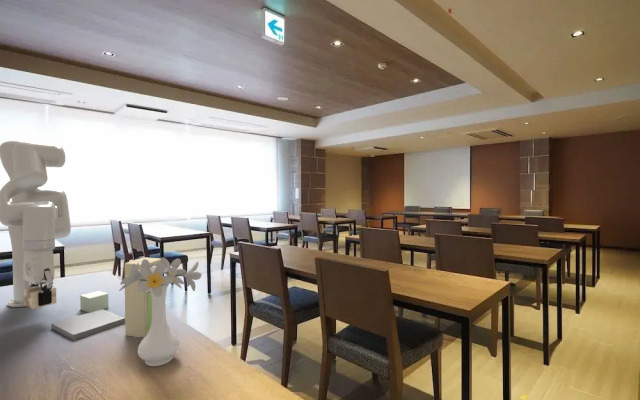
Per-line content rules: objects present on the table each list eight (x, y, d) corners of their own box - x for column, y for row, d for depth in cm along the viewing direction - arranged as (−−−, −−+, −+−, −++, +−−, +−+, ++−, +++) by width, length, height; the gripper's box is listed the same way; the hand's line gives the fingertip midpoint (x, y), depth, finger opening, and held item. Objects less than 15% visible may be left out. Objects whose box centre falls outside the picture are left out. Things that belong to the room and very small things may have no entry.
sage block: (80, 309, 115) (80, 295, 115) (99, 304, 120) (99, 290, 120) (89, 313, 112) (89, 298, 112) (108, 307, 117) (108, 293, 117)
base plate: (51, 328, 100) (51, 323, 100) (101, 313, 112) (101, 308, 112) (73, 340, 92) (73, 334, 92) (125, 322, 104) (125, 318, 104)
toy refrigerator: (147, 338, 94) (146, 264, 93) (124, 335, 95) (123, 262, 95) (165, 326, 102) (165, 258, 101) (144, 324, 103) (143, 257, 102)
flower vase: (208, 351, 87) (208, 256, 86) (136, 385, 72) (135, 270, 71) (179, 337, 95) (179, 250, 94) (108, 366, 80) (107, 262, 78)
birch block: (24, 304, 103) (24, 288, 102) (48, 298, 108) (47, 283, 108) (32, 309, 100) (31, 292, 99) (56, 303, 105) (56, 287, 104)
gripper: (12, 242, 104) (14, 299, 105) (35, 251, 95) (37, 312, 96) (42, 239, 110) (43, 292, 111) (66, 246, 101) (67, 304, 102)
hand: (40, 301), depth 104 cm, fingers closed on birch block, 6 cm apart
